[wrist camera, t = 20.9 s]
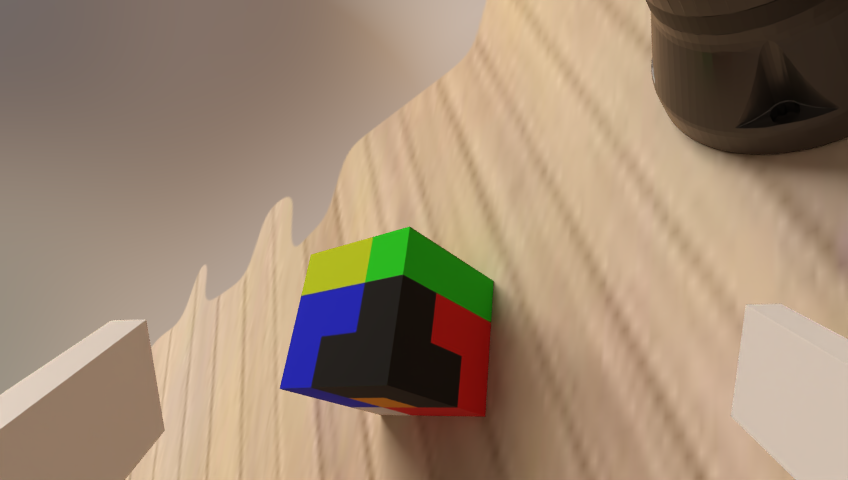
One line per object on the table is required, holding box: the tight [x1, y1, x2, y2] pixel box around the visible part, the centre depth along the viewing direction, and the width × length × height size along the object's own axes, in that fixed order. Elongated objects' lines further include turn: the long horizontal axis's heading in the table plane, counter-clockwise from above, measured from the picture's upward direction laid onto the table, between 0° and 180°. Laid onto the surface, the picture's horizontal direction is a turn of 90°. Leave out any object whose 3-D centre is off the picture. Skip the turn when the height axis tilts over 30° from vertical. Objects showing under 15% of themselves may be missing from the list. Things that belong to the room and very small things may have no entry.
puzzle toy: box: [280, 227, 494, 417], centre depth 37 cm, size 10×10×10 cm
